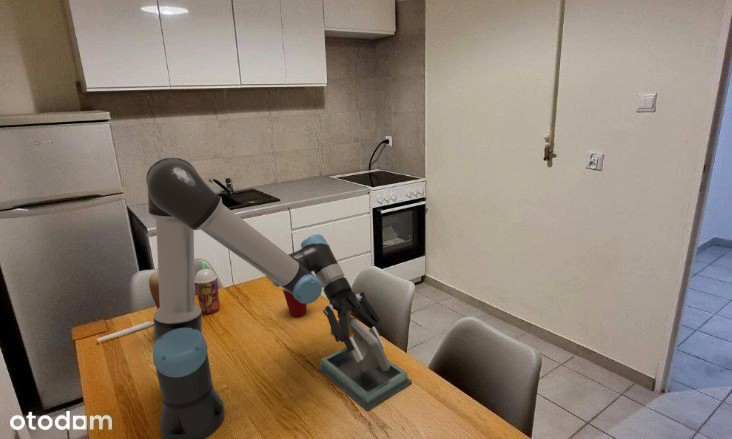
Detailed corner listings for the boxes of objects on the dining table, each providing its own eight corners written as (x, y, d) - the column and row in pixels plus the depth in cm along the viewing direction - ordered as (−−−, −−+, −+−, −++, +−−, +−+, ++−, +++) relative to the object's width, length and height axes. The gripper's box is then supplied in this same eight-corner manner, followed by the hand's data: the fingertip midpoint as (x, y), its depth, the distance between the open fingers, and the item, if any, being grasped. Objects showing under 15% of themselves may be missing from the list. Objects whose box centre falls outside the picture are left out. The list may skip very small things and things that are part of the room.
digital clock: (392, 373, 114) (391, 338, 111) (360, 380, 112) (358, 345, 109) (374, 341, 129) (373, 310, 126) (345, 347, 127) (343, 315, 124)
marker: (154, 324, 156) (153, 318, 155) (155, 326, 154) (154, 320, 153) (97, 343, 145) (96, 337, 144) (98, 345, 143) (97, 339, 142)
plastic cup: (315, 306, 163) (313, 277, 160) (309, 320, 153) (306, 290, 149) (288, 306, 164) (285, 277, 161) (280, 320, 154) (276, 290, 150)
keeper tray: (367, 411, 108) (366, 399, 107) (317, 369, 125) (317, 359, 124) (411, 383, 118) (411, 372, 117) (360, 348, 135) (359, 338, 134)
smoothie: (199, 307, 166) (191, 260, 160) (222, 304, 168) (215, 256, 162) (198, 318, 158) (190, 268, 152) (222, 313, 160) (214, 264, 154)
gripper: (356, 278, 133) (392, 344, 125) (300, 299, 121) (336, 374, 114) (365, 267, 127) (404, 336, 120) (308, 288, 115) (347, 366, 108)
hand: (371, 354), depth 117 cm, fingers closed on digital clock, 7 cm apart
